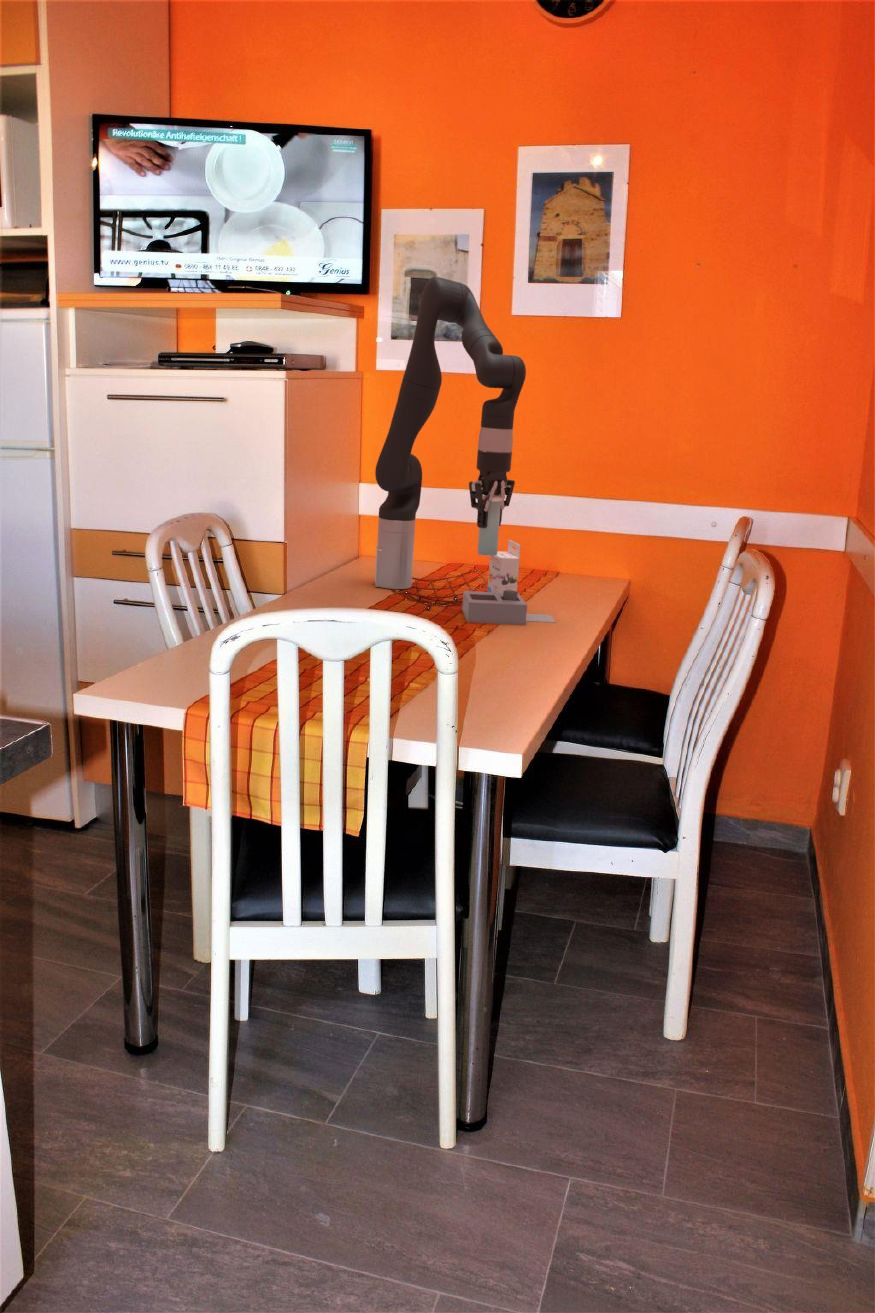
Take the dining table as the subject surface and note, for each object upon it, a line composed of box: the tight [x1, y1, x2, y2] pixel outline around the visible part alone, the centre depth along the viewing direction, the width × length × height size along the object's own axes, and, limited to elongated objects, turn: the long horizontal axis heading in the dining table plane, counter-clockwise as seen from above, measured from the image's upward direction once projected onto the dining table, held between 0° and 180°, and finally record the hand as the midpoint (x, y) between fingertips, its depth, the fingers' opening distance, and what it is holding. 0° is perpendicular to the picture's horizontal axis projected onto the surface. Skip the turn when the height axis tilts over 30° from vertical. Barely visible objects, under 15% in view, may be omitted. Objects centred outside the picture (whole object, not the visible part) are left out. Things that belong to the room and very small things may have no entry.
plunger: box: [503, 590, 519, 601], centre depth 253 cm, size 3×3×6 cm
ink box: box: [486, 539, 521, 593], centre depth 272 cm, size 8×5×15 cm, turn 17°
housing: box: [461, 590, 528, 626], centre depth 253 cm, size 13×12×5 cm
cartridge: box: [477, 495, 502, 557], centre depth 248 cm, size 5×5×13 cm
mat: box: [526, 613, 556, 624], centre depth 256 cm, size 7×7×1 cm
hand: (488, 526), depth 248 cm, fingers closed on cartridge, 4 cm apart
